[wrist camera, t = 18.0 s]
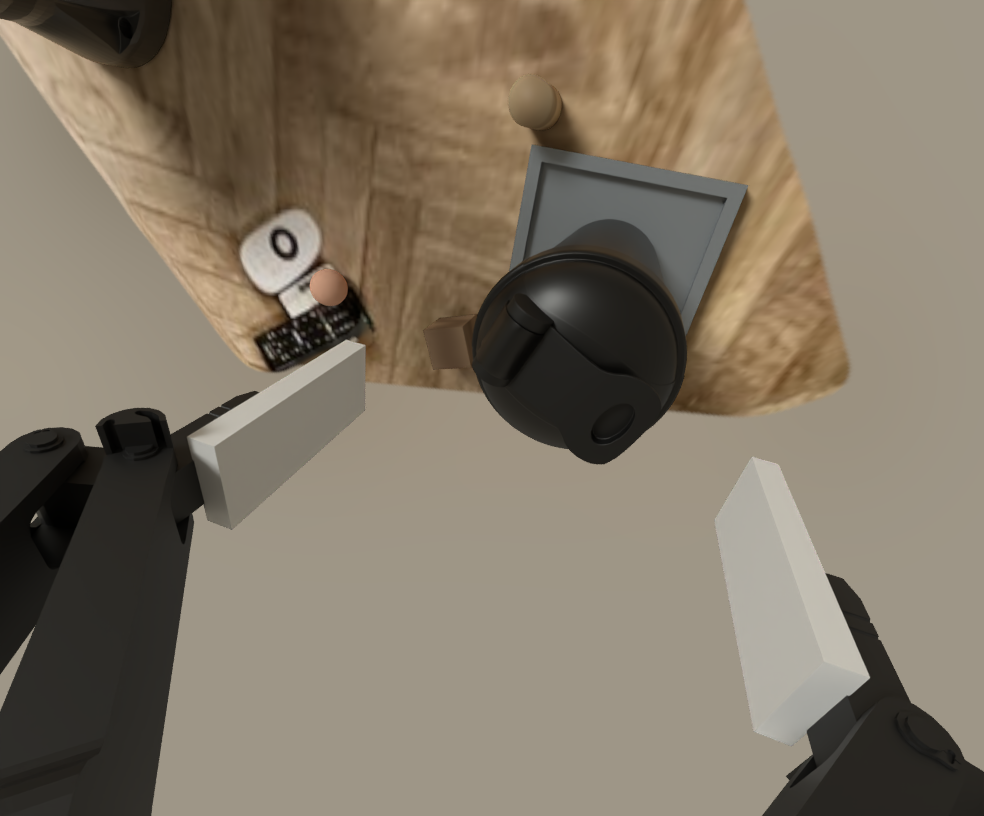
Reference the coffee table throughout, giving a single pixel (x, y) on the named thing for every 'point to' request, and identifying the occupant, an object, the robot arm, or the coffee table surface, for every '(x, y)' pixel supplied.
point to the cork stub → (534, 103)
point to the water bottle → (583, 342)
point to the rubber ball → (328, 287)
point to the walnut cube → (451, 342)
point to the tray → (630, 213)
